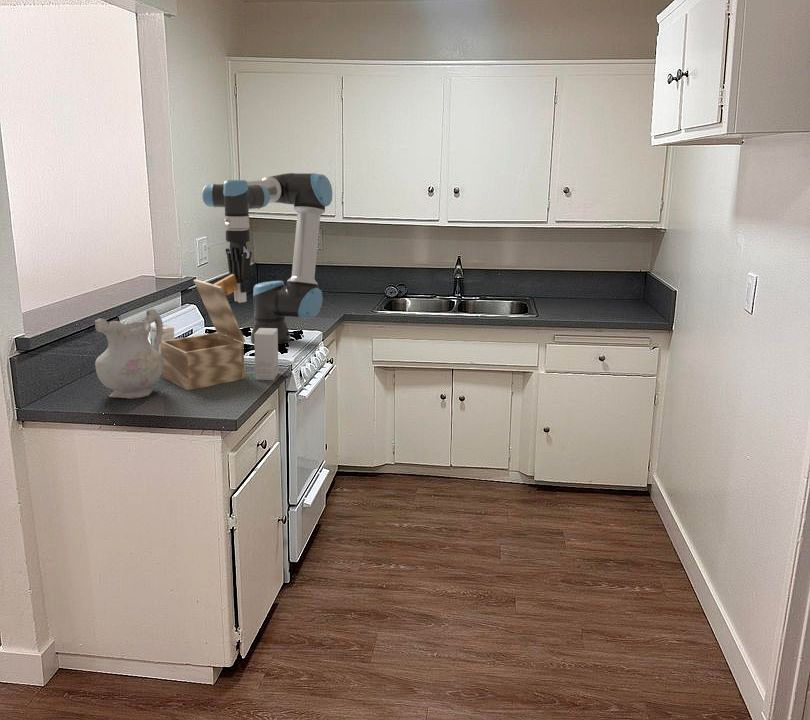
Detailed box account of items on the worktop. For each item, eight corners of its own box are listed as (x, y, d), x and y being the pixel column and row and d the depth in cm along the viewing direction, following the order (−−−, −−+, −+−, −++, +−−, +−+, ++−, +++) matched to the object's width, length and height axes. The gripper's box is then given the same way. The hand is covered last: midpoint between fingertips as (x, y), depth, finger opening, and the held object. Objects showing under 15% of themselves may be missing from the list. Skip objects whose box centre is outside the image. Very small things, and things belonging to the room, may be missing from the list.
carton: (218, 366, 260) (216, 332, 257) (244, 378, 247) (243, 343, 244) (162, 377, 247) (160, 341, 244) (187, 390, 234) (184, 352, 231)
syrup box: (166, 364, 262) (163, 323, 258) (176, 368, 258) (173, 326, 254) (152, 368, 258) (148, 326, 254) (162, 371, 254) (159, 329, 250)
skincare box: (260, 372, 254) (258, 327, 249) (280, 373, 253) (278, 327, 249) (254, 380, 246) (252, 333, 241) (275, 380, 245) (273, 333, 241)
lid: (217, 332, 257) (240, 318, 262) (243, 342, 244) (267, 328, 248) (193, 280, 247) (218, 266, 252) (219, 288, 234) (245, 273, 239)
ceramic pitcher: (137, 382, 245) (125, 306, 239) (186, 385, 238) (175, 307, 232) (86, 402, 226) (72, 320, 220) (138, 406, 218) (125, 321, 212)
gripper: (216, 227, 247) (219, 299, 253) (238, 231, 236) (241, 306, 242) (236, 226, 252) (239, 296, 258) (259, 230, 241) (262, 303, 247)
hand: (240, 301), depth 250 cm, fingers closed on lid, 2 cm apart
